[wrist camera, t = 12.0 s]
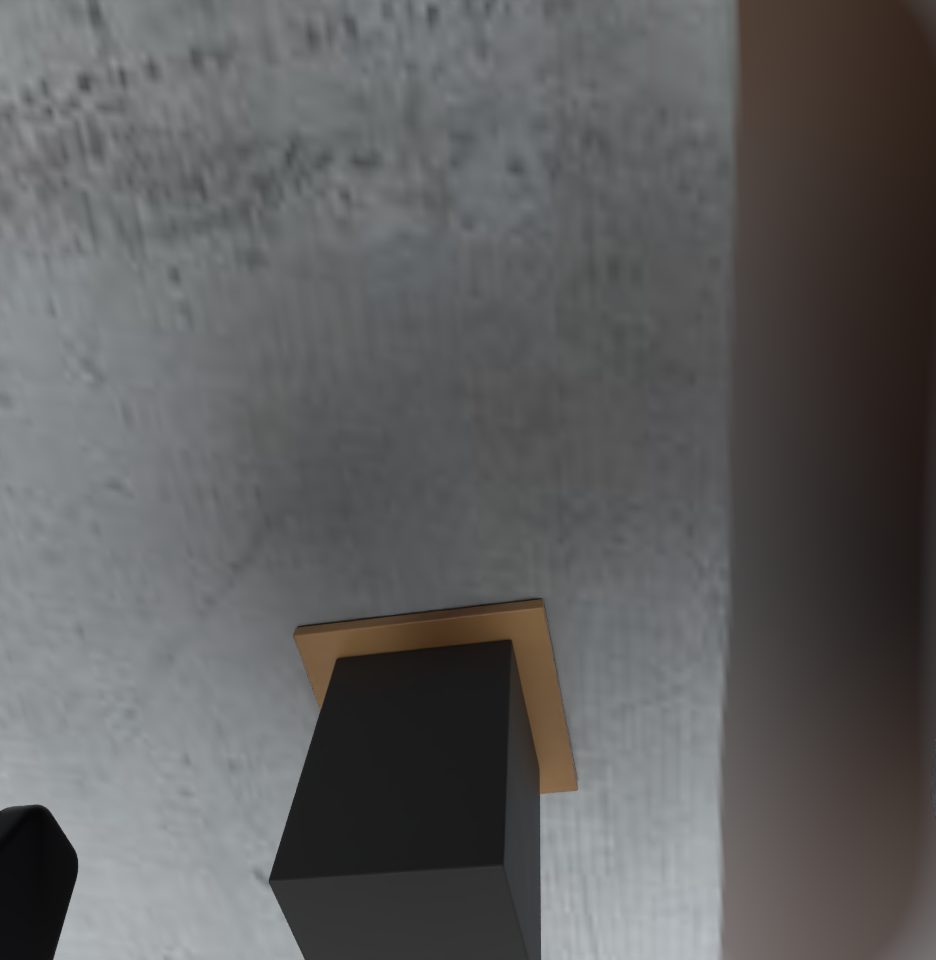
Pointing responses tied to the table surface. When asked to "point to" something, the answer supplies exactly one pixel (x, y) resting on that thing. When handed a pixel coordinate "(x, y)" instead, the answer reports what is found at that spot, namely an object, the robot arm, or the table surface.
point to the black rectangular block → (417, 813)
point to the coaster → (452, 629)
